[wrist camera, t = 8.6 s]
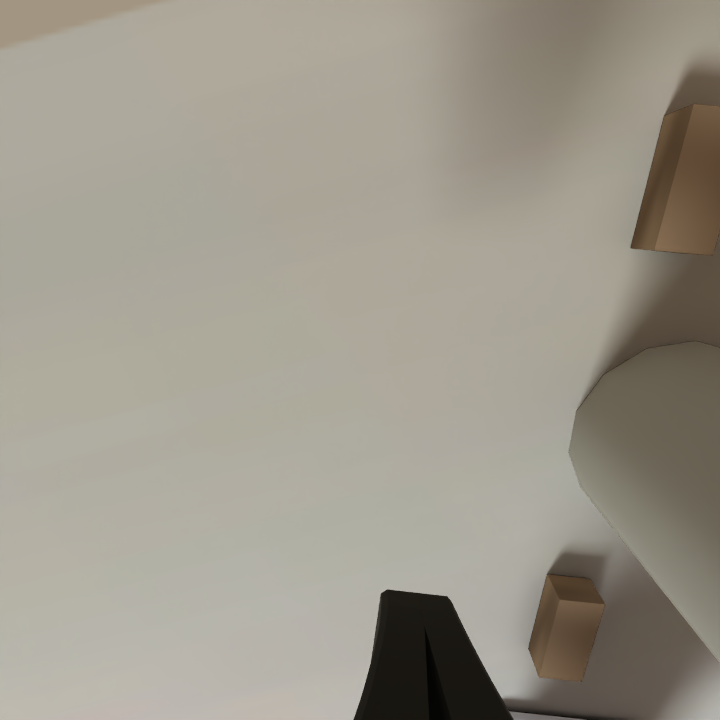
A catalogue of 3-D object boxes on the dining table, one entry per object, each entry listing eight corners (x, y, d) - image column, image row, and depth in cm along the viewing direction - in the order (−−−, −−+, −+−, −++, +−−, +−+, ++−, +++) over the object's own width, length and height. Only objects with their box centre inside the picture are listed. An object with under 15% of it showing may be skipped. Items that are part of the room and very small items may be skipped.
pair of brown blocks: (568, 652, 22) (581, 681, 21) (528, 648, 22) (538, 677, 21) (721, 121, 15) (757, 109, 14) (664, 116, 15) (694, 103, 14)
